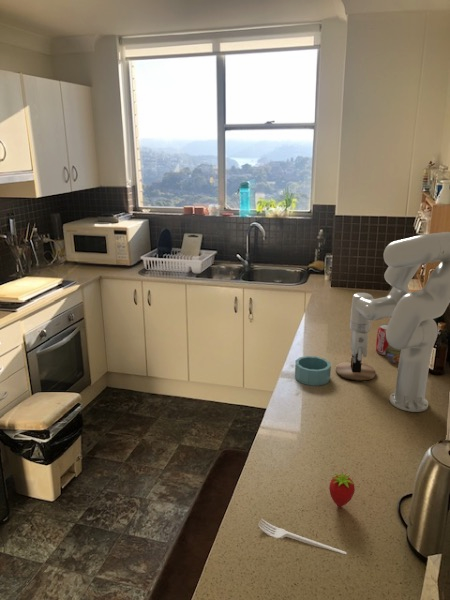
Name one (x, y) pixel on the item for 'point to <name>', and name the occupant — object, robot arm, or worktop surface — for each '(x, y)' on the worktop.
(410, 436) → the worktop surface
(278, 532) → the fork
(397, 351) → the tin
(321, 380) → the teal bowl
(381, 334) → the soda can
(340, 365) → the walnut lid
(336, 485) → the strawberry
